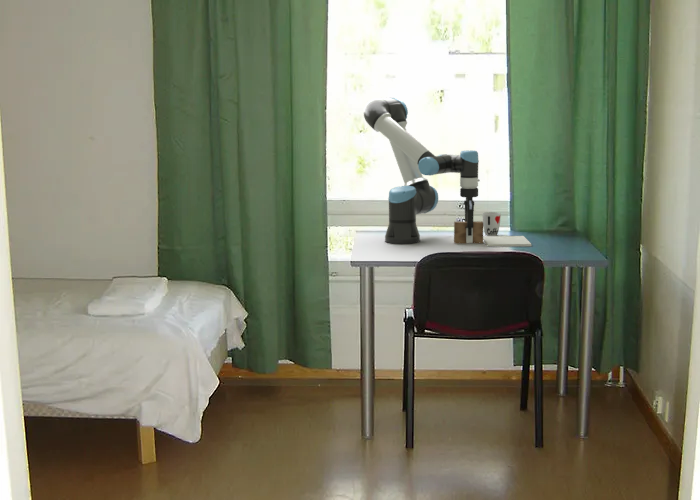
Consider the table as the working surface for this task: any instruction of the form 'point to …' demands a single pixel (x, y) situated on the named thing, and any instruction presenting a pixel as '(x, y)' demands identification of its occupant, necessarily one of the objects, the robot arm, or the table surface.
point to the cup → (491, 223)
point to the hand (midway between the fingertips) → (468, 242)
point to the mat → (506, 241)
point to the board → (461, 232)
